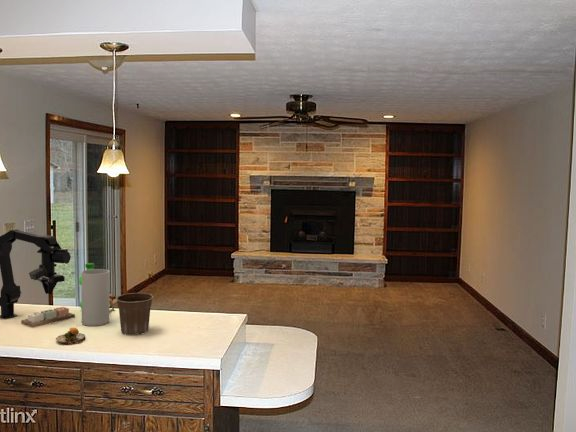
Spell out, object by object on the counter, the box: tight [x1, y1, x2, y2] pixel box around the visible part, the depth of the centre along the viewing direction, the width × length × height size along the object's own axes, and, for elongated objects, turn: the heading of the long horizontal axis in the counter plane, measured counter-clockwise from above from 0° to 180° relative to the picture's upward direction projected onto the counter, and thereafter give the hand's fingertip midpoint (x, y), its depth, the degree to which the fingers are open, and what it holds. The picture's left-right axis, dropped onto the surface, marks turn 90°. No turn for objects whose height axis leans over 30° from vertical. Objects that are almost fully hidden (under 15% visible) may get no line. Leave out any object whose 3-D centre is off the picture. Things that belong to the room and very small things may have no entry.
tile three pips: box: [53, 306, 70, 317], centre depth 247 cm, size 5×5×3 cm
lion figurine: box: [109, 298, 115, 311], centre depth 257 cm, size 15×5×9 cm, turn 8°
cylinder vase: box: [80, 268, 110, 327], centre depth 240 cm, size 12×12×25 cm
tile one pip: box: [27, 311, 44, 323], centre depth 236 cm, size 5×5×3 cm
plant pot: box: [115, 292, 154, 336], centre depth 229 cm, size 16×16×16 cm
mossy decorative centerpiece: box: [55, 325, 86, 346], centre depth 214 cm, size 12×12×8 cm
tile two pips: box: [40, 308, 57, 320], centre depth 242 cm, size 5×5×3 cm
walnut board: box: [20, 312, 76, 329], centre depth 242 cm, size 10×21×2 cm, turn 146°
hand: (48, 294), depth 241 cm, fingers open, 2 cm apart
